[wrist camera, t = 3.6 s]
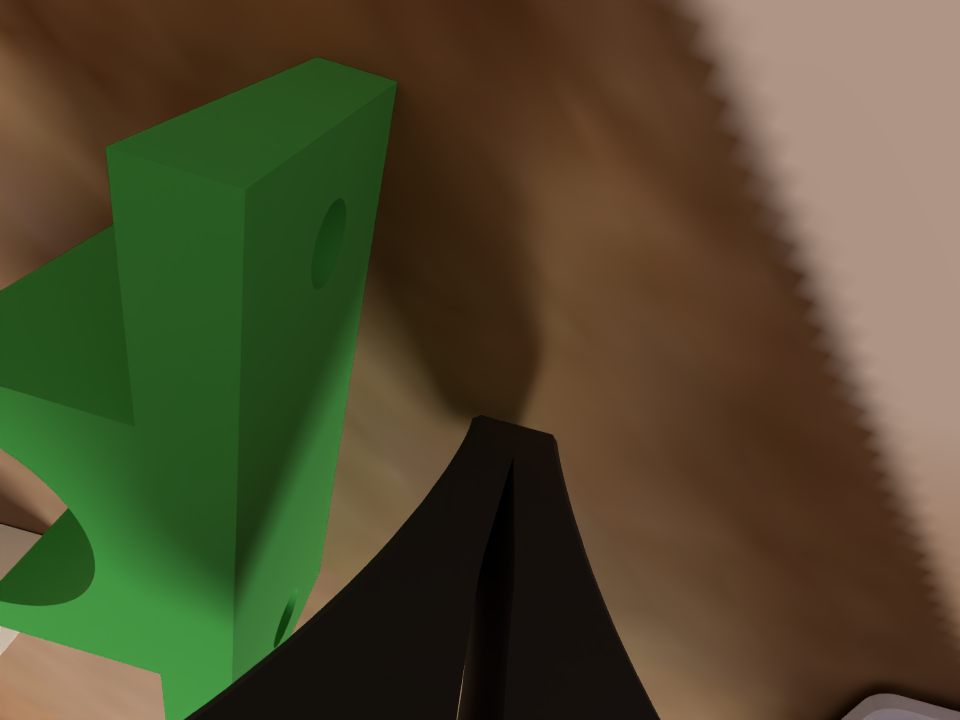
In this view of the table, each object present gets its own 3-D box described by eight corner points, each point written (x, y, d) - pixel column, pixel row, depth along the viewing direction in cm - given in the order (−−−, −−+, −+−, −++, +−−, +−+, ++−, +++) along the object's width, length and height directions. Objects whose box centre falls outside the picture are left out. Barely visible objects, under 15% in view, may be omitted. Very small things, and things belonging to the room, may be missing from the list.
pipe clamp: (138, -3, 9) (-231, 38, 5) (403, 77, 9) (246, 183, 5) (169, 524, 15) (22, 722, 11) (321, 569, 15) (226, 782, 11)
